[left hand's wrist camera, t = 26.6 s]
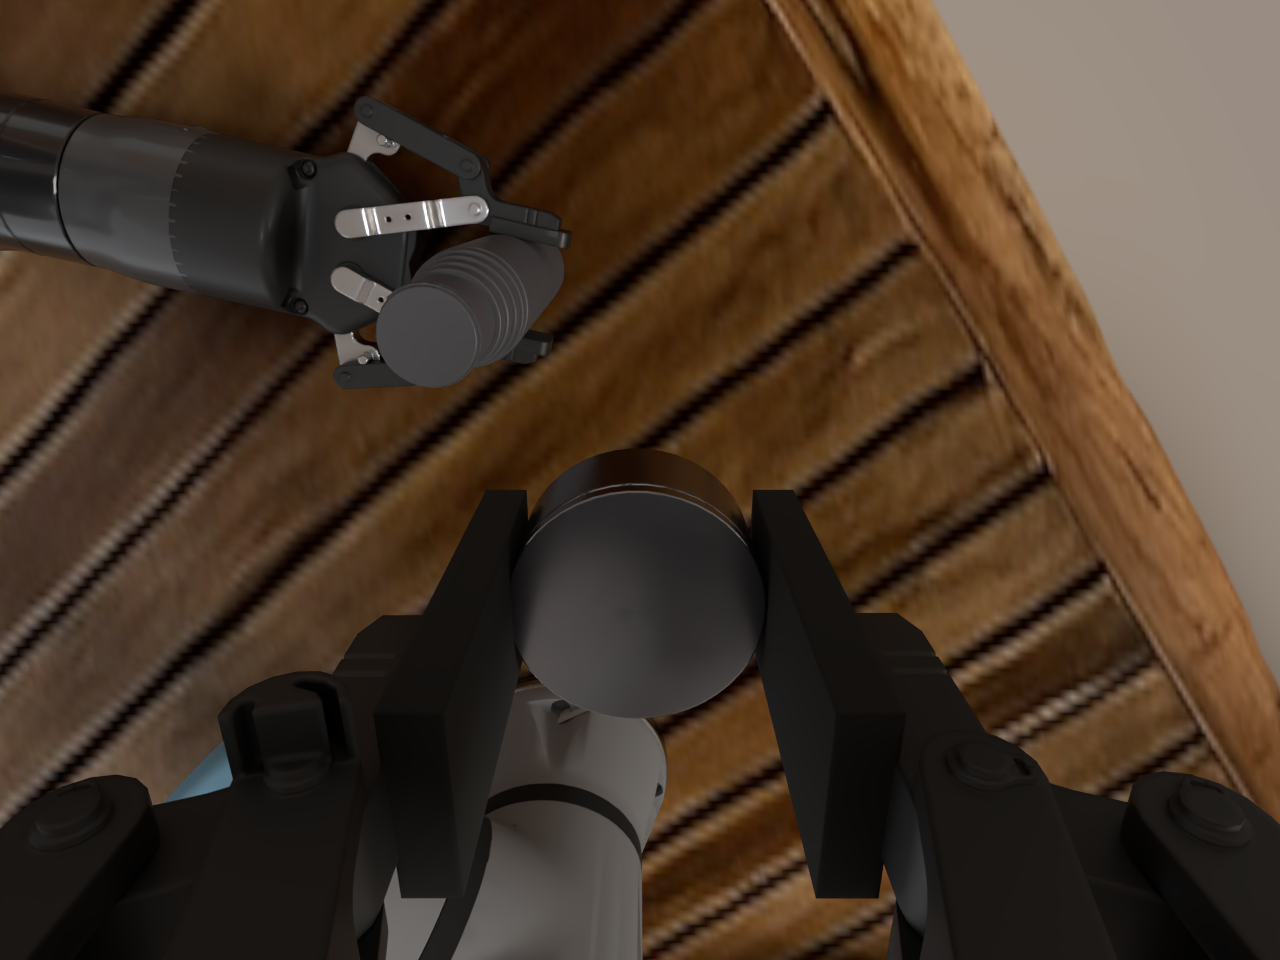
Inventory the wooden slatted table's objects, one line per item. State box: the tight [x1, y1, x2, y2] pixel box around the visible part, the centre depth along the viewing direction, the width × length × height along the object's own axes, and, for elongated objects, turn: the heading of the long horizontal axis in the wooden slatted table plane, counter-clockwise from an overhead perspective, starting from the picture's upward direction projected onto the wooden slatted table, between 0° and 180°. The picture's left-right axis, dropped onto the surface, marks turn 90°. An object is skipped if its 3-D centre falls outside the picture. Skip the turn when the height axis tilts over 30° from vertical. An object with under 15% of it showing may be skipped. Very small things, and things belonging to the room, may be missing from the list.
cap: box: [510, 449, 767, 719], centre depth 14 cm, size 4×4×2 cm
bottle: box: [376, 233, 564, 388], centre depth 34 cm, size 5×5×21 cm
